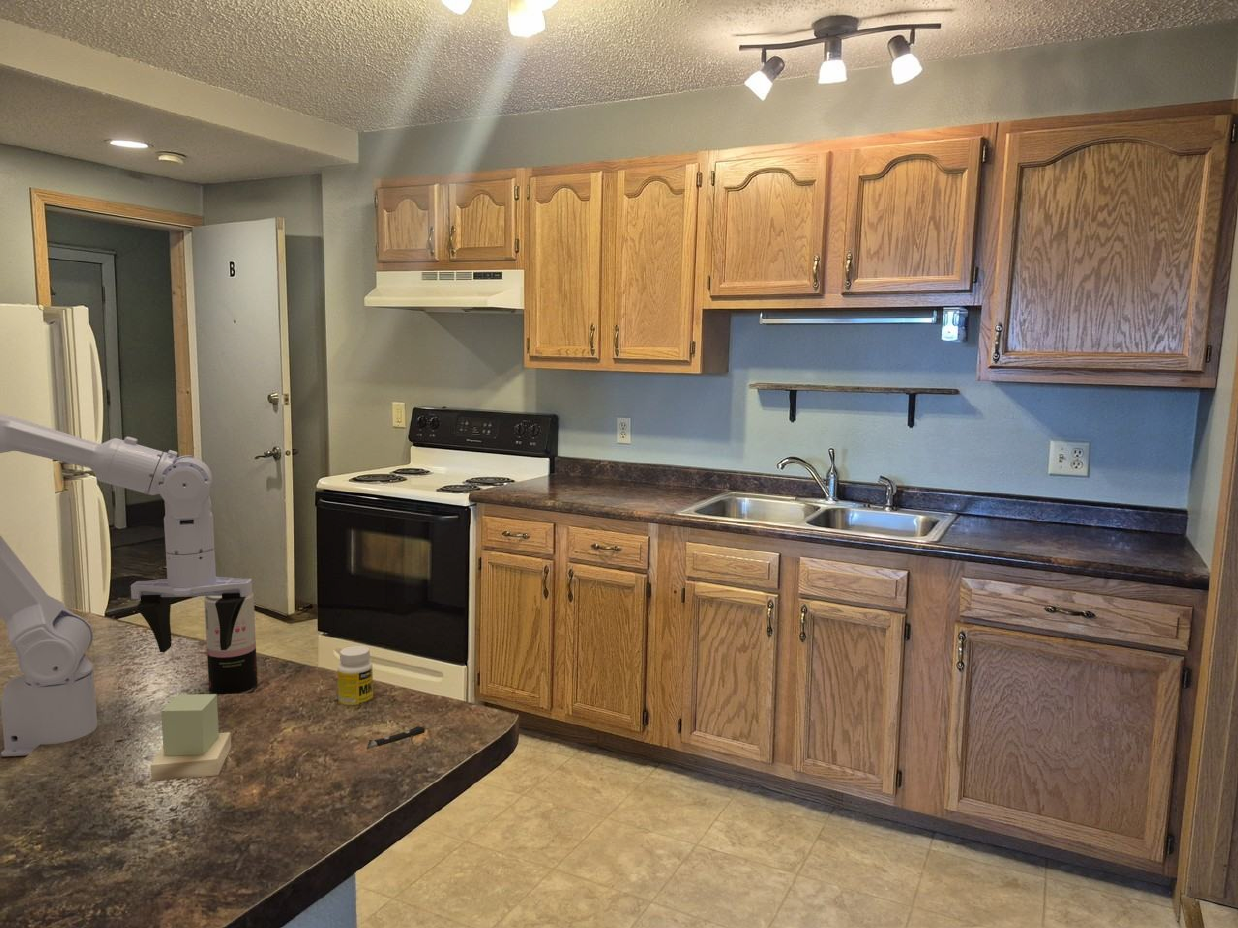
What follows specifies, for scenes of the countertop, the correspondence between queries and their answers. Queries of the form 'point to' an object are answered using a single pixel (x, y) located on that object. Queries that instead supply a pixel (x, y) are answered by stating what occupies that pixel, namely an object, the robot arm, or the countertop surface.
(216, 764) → the tan square tile
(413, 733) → the chef's knife
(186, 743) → the green block
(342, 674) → the supplement bottle
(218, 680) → the beverage can
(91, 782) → the countertop surface
